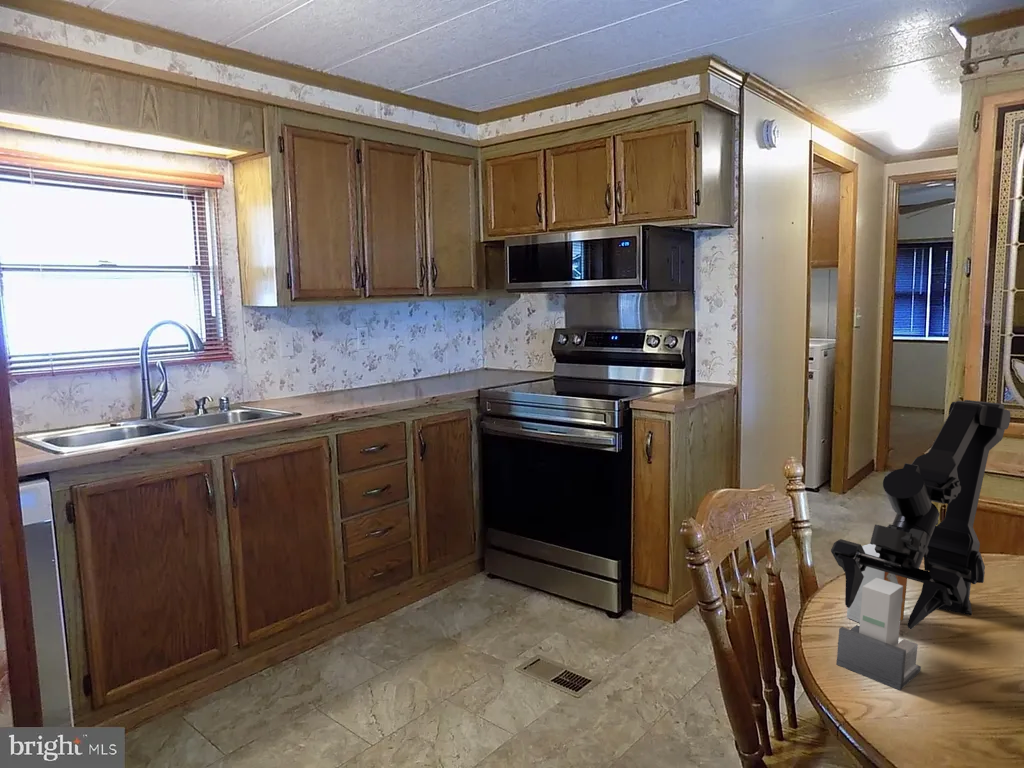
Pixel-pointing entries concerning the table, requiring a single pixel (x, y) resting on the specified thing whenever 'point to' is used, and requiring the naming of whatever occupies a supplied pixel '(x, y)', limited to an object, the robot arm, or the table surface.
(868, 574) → the small box
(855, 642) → the gray open holder
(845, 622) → the table surface
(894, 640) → the block
